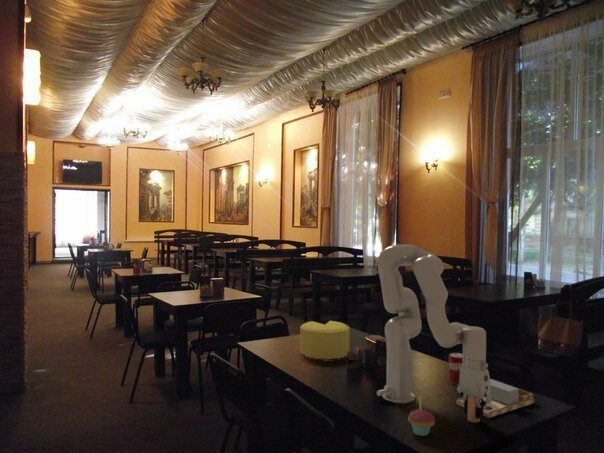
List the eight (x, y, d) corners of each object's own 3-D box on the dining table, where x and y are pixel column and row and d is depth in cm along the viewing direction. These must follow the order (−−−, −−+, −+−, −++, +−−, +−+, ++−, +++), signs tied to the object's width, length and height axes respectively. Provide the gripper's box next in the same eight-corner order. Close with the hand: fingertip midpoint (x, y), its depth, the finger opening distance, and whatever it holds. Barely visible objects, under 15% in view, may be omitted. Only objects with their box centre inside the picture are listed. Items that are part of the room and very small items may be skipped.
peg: (474, 423, 151) (474, 397, 151) (464, 419, 155) (465, 393, 155) (482, 421, 153) (482, 395, 153) (472, 416, 157) (472, 391, 157)
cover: (508, 405, 163) (508, 391, 163) (479, 393, 173) (480, 381, 173) (518, 401, 166) (518, 388, 166) (489, 391, 176) (489, 378, 176)
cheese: (317, 343, 252) (318, 317, 252) (358, 351, 237) (358, 323, 237) (290, 354, 231) (290, 325, 231) (332, 363, 215) (333, 333, 215)
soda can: (467, 386, 186) (468, 358, 186) (449, 385, 188) (450, 356, 188) (465, 380, 193) (465, 353, 193) (447, 379, 195) (448, 352, 195)
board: (488, 417, 156) (488, 408, 156) (456, 403, 168) (456, 394, 168) (534, 403, 169) (534, 394, 169) (501, 391, 181) (501, 382, 181)
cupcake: (404, 427, 148) (405, 391, 148) (429, 426, 149) (429, 390, 149) (413, 439, 139) (413, 401, 139) (439, 438, 140) (439, 400, 140)
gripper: (502, 368, 148) (501, 422, 149) (461, 355, 163) (461, 404, 163) (487, 371, 145) (487, 427, 145) (447, 358, 159) (447, 408, 159)
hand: (473, 414), depth 154 cm, fingers closed on peg, 4 cm apart
